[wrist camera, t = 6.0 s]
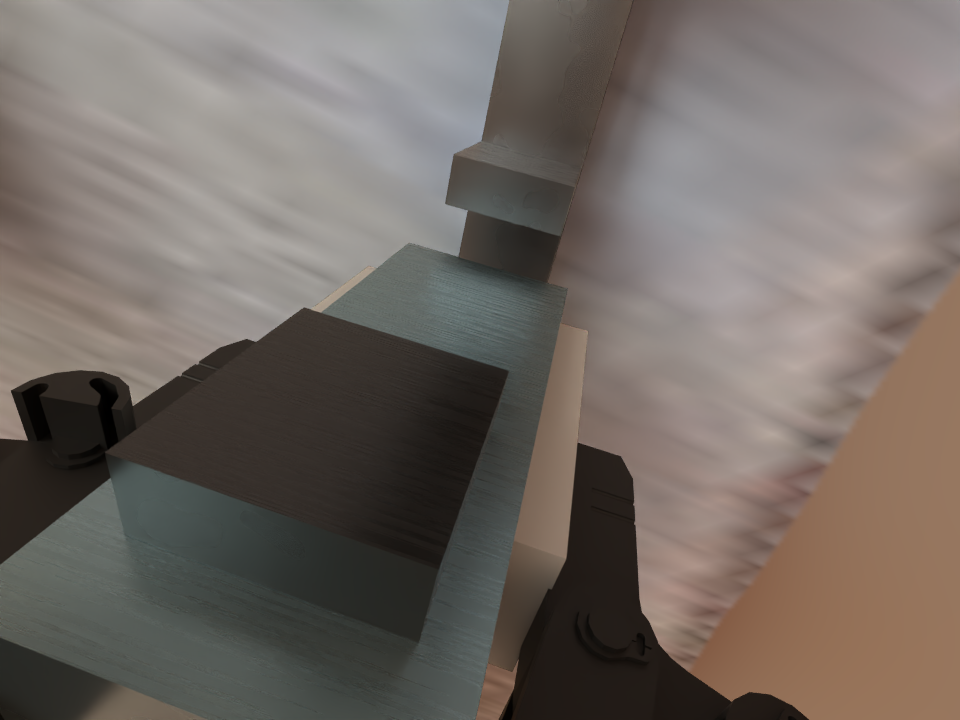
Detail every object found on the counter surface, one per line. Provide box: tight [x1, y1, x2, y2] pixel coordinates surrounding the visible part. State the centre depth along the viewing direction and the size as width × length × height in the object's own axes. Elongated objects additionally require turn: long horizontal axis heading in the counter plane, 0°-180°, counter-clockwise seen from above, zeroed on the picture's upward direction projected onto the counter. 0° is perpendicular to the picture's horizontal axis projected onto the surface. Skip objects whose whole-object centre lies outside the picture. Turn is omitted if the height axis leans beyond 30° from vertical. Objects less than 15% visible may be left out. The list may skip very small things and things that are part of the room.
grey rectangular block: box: [0, 243, 567, 720], centre depth 9 cm, size 5×4×10 cm
